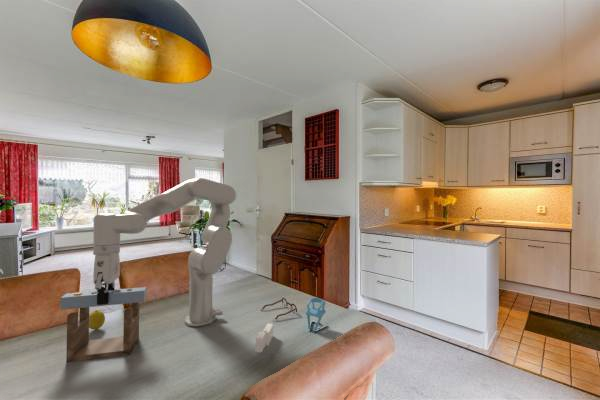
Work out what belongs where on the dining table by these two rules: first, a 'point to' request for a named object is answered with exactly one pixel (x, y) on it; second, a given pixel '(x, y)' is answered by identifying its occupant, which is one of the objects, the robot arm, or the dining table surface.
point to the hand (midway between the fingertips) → (105, 300)
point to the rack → (91, 349)
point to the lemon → (96, 319)
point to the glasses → (286, 305)
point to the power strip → (91, 298)
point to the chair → (315, 311)
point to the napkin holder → (264, 337)
